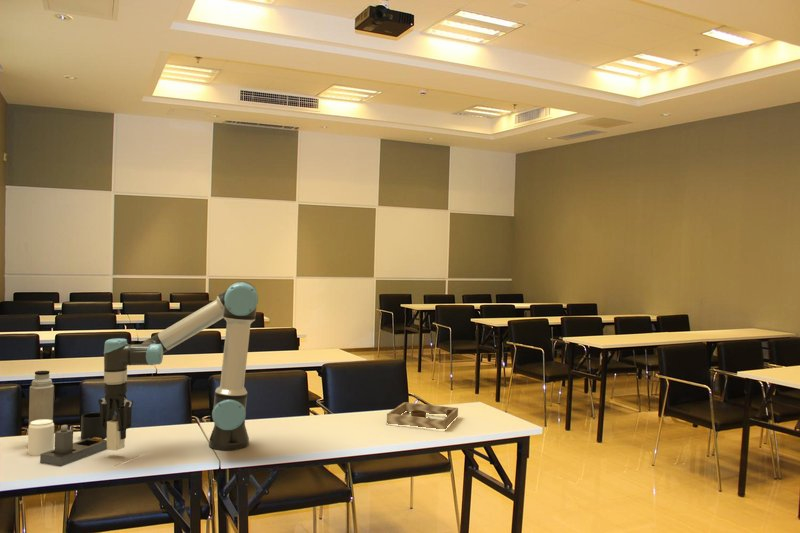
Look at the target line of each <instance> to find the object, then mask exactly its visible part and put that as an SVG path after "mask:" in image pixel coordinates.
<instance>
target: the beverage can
mask: <svg viewBox="0 0 800 533" xmlns="http://www.w3.org/2000/svg"><path fill="white" fill-rule="evenodd" d="M27 438H28V439H27V455H29V456H34V457H35V456H40V454H42V453H45V452H48V451H51V450H54V449H55V422H54V419H53V420H50V419H41V420H35V421H32V422H30V425H29V424H28V433H27Z"/></svg>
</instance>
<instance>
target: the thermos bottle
mask: <svg viewBox="0 0 800 533" xmlns="http://www.w3.org/2000/svg"><path fill="white" fill-rule="evenodd" d="M54 390H55V385H54V384H53V380H52V379H51V378H50V370H36V371H34V378H33V380H32V381H31V385H30V386H29V397H28V398H29V401H28V402H29V403H28V404H29V405H28V426H29V425H30V422H32V421H35V420H41V419H50V420H53V421H54V419H53V418H54V398H55V397H54V393H55V392H54Z"/></svg>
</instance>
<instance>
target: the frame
mask: <svg viewBox="0 0 800 533" xmlns="http://www.w3.org/2000/svg"><path fill="white" fill-rule="evenodd" d="M414 410H421V411H425V412H426V413H429V414H446V415H447V410H452V412H451V413H450V414H449V415H448V416H447V417H444V418H443V419H442V418H441V419H439V418H437V419H436V418H431V417H429V418H423V417H415V416H411V415H404V414H405V413H404V412H405V411H407V412H411V411H414ZM402 413H404V414H403V415H401V414H402ZM457 416H458V417H459V408H458V407H453V406H443V405H435V404H425V403H418V402H417V403H415V402H408V401H407V402H405V401H404V402H402V403H401V404H399V405H398V406H397V407H395V408H394V409H392V410H391V411H389V412H387V413H386V424H387V423H388V424H398V425H410V426H418V427H426V428H436V429H446V428H447V426H448V425H449V424H450V423H451V422H452V421H453V420H454V419H455V418H456V417H457Z"/></svg>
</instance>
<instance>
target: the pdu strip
mask: <svg viewBox="0 0 800 533" xmlns="http://www.w3.org/2000/svg"><path fill="white" fill-rule="evenodd" d="M54 450H55V448H54ZM54 450H51V451H48V452H45V453H42V454H40V455H39V457H40V458H39V459H40V460H39V461H40V462H39V463H40V464H44V465H50V466H58V467H63V466H66V465H68V464H70V463H73V462H77V461H79V460H81V459H85V458H88V457H89V456H93V455H95V454H99V453H101V452H103V451H107V439H102V438H97V437H94V438H87V439H84V440H82V439H81V440H78V441H75V442H73V452H70V453H67V454H64V455H62V454H56V453H54Z"/></svg>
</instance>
